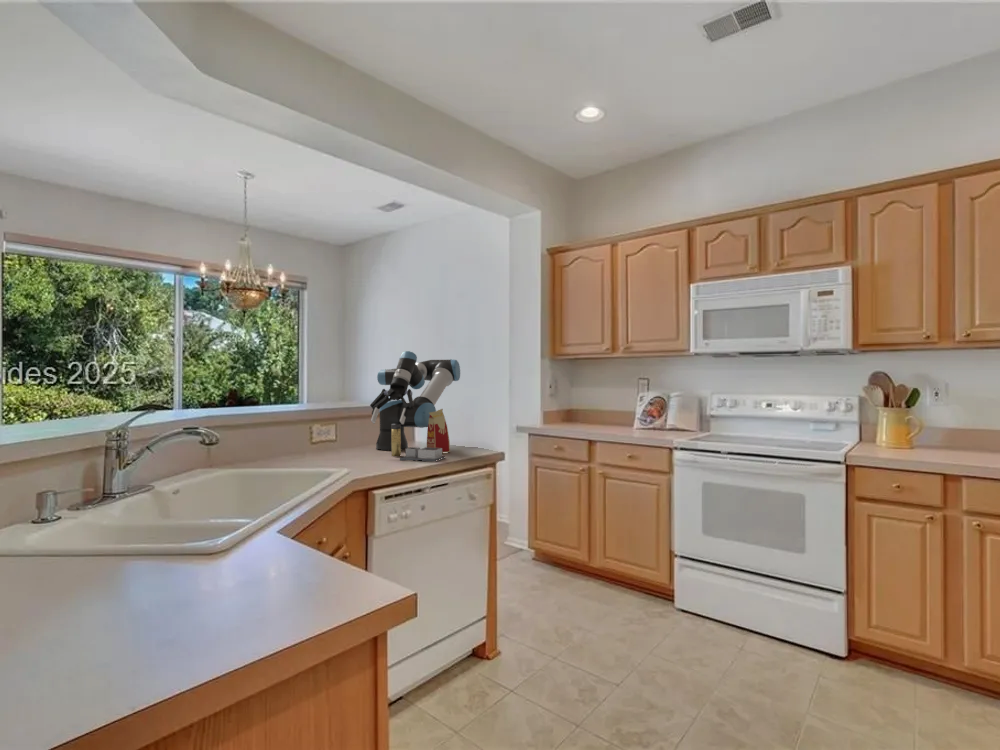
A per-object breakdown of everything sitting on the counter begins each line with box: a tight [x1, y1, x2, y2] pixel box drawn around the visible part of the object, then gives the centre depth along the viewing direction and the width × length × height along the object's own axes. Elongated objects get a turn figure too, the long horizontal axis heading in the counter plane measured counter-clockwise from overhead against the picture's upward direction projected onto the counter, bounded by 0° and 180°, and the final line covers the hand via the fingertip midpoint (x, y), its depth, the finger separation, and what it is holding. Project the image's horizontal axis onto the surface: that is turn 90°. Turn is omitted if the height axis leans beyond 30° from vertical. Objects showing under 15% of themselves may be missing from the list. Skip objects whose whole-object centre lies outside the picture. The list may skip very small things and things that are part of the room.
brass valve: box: [391, 424, 402, 457], centre depth 225 cm, size 4×4×14 cm
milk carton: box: [426, 408, 451, 454], centre depth 236 cm, size 9×9×20 cm
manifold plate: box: [399, 446, 446, 462], centre depth 216 cm, size 10×16×4 cm, turn 73°
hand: (386, 422), depth 219 cm, fingers open, 13 cm apart
